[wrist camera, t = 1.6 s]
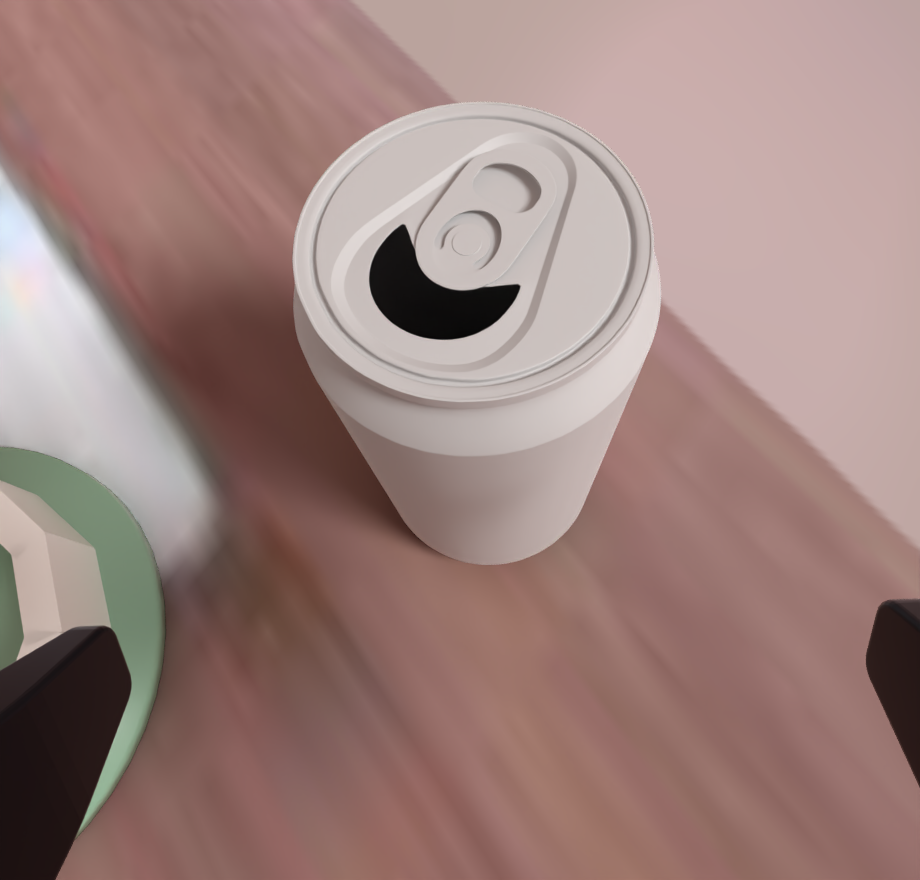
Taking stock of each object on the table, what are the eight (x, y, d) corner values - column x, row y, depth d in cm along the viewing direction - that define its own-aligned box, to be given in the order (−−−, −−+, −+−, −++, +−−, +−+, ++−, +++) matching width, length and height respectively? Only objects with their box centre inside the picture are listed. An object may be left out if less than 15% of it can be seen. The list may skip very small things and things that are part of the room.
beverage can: (353, 499, 21) (180, 292, 10) (463, 350, 23) (420, 29, 12) (520, 610, 20) (535, 513, 8) (625, 442, 21) (755, 173, 10)
